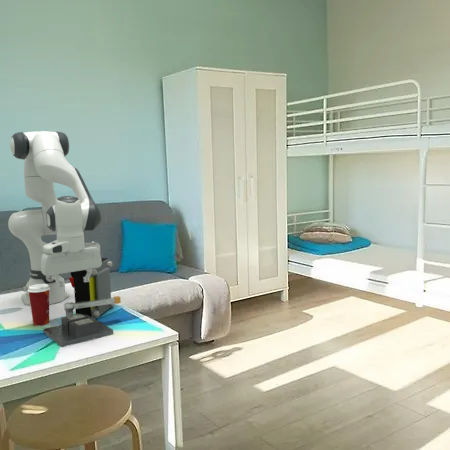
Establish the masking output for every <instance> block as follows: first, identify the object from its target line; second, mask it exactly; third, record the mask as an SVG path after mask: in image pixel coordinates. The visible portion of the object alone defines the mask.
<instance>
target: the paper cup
mask: <svg viewBox="0 0 450 450" xmlns="http://www.w3.org/2000/svg"><path fill="white" fill-rule="evenodd" d="M49 289H50V288H49V286H48V284H36V285H31V286H29V289H28V292H29V298H30V312H31V318H32V324H33V325H34V326H37V325H40V326H44V325H48V324H49V323H50V304H49Z"/></svg>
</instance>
